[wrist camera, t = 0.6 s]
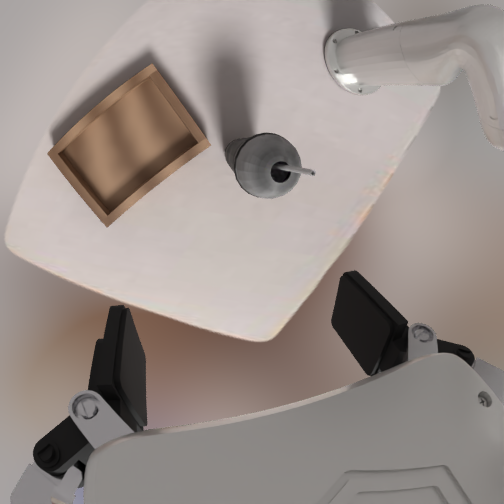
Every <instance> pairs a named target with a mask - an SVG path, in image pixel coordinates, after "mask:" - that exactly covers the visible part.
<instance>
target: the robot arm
mask: <svg viewBox="0 0 504 504" xmlns="http://www.w3.org/2000/svg"><path fill="white" fill-rule="evenodd" d="M325 61H326V65H327V68H328V70H329V72H330V74H331V76H332V77H333V79H334V80H335V81H336V82H337V83H338V84H339V85H340V86H341V87H342V88H343V89H345V90H346V91H348V92H350V93H353V94H356V95H368V94H372V93H374V92H376V91H377V90H378V89H379V88H380V87H381V86H382V85H425V86H442V85H447V84H449V83H451V82H452V81H454V80H455V79H456V78H457V76H458V75H459V74H460V73H461V72H462V70H463V71H464V72H465V74H466V76H467V79H468V82H469V84H470V87H471V90H472V93H473V97H474V101H475V104H476V108H477V112H478V116H479V119H480V124H481V127H482V130H483V133H484V135H485V137H486V139H487V140H488V141H489V142H490V144H492V145H493V146H494V147H496V148H498V149H499V150H501V151H504V10H502V9H501V8H499V7H496V6H493V5H474V6H469V7H466V8H462V9H459V10H455V11H452V12H448V13H444V14H440V15H435V16H430V17H425V18H420V19H414V20H410V21H405V22H400V23H395V24H391V25H386V26H382V27H378V28H375V29H371V30H367V31H364V32H362V31H359V30H357V29H352V28H346V29H341V30H339V31H336V32H335V33H333V34H332V35H331V36H330V37H329V39H328V41H327V43H326V46H325ZM331 323H332V326H333V328H334V329H335V330H336V332H337V333H338V335H339V336H340V337H341V339H342V340H343V342H344V343H345V345H346V346H347V347H348V349H349V350H350V351H351V353H352V354H353V356H354V357H355V359H356V360H357V361H358V363H359V364H360V366H361V367H362V369H363V370H364V371H365V373H366V374H367V375H370V376H371V377H368V378H366V379H363V380H361V381H358V382H356V383H353V384H350V385H347V386H345V387H342V388H339V389H336V390H333V391H330V392H327V393H324V394H321V395H318V396H315V397H312V398H308V399H305V400H302V401H298V402H295V403H291V404H287V405H284V406H280V407H276V408H272V409H268V410H264V411H260V412H255V413H251V414H246V415H241V416H236V417H231V418H226V419H220V420H214V421H208V422H202V423H196V424H188V425H181V426H172V427H165V428H158V429H149V430H145V431H143V426H147V410H146V409H147V408H146V359H145V353H144V350H143V348H142V345H141V342H140V340H139V337H138V333H137V331H136V328H135V325H134V322H133V319H132V315H131V312H130V309H129V308H125V307H124V305H118V306H111V307H110V309H109V314H108V319H107V324H106V328H105V334H104V338H103V339H98V340H97V342H96V345H95V351H94V356H93V361H92V367H91V373H90V379H89V386H88V390H86V391H81V392H79V393H77V394H76V395H74V396H73V398H72V399H71V400H70V402H69V406H68V410H69V414H70V416H68V417H67V418H66V419H65V420H64V421H62V422H61V423H60V424H59V425H57V426H56V427H55V428H54V429H53V430H51V431H50V432H49V433H48V434H47V435H45V436H44V437H43V438H42V439H40V440H39V441H38V442H37V443H36V445H35V447H34V450H33V457H34V460H35V461H34V463H33V464H32V465H31V464H29V465H28V466H27V468H26V470H25V472H24V473H23V475H22V476H21V478H20V480H19V482H18V483H17V485H16V487H15V489H14V490H13V492H12V494H11V498H10V499H11V504H72V503H73V500H74V499H75V497H76V496H75V495H74V493H75V491H76V489H77V488H80V487H83V486H84V491H83V493H84V495H83V497H84V504H504V371H502V370H501V369H499V368H497V367H495V366H493V365H491V364H489V363H487V362H485V361H483V360H481V359H479V358H476V360H475V358H474V355H473V353H472V352H471V350H470V349H468V348H467V347H465V346H463V345H459V344H454V343H450V342H446V341H442V340H439V339H437V337H436V333H435V332H434V330H433V329H432V328H431V327H429V326H428V325H426V324H422V323H415V324H412V325H411V326H410V327H408V326H407V323H408V321H407V320H406V319H405V318H404V317H403V316H402V315H401V314H400V313H399V312H398V311H397V310H396V309H395V308H394V307H393V306H392V305H391V304H390V303H389V302H388V301H387V300H386V299H385V298H384V297H383V296H382V295H381V294H380V293H379V292H378V291H377V290H376V289H375V288H374V287H373V286H372V285H371V284H370V283H369V282H368V281H367V280H366V279H365V278H364V277H363V276H362V275H361V274H359V273H358V272H357V271H350V272H345V273H344V274H343V276H341V278H340V282H339V287H338V292H337V296H336V301H335V306H334V310H333V315H332V319H331Z"/></svg>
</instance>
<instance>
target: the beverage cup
mask: <svg viewBox="0 0 504 504" xmlns="http://www.w3.org/2000/svg"><path fill="white" fill-rule="evenodd" d="M225 157H226V161H227V163H228V164H229V166H230V167H231V169H232V170H233V171H234V173H235V176H236V180H237V181H238V183H239V185H240V186H241V188H242V189H244V190H245V191H246V192H247V193H248V194H251V195H253V196H256V197H260V198H272V199H273V198H276V197H280V196H283V195H285V194H286V193H288V192H290V191H291V190H292V189H293V187H294V186H295V185H296V184H297V182H298V180H299V178H300V174H305V175H310V176H315V174H316V173H315V171H314V170H310V169H305V168H302V166H301V160H300V156H299V154H298V152H297V150H296V148H295V147H294V146H293V145H292V144H291V143H290V142H289V141H288V140H286V139H285V138H283V137H281V136H279V135H277V134H273V133H261V134H257V135H254V136H253V137H250V138H242V139H237V140H234V141H233V142H231V143H230V144H229V145H228V146H227V149H226V151H225Z"/></svg>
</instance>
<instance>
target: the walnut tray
mask: <svg viewBox="0 0 504 504" xmlns="http://www.w3.org/2000/svg"><path fill="white" fill-rule="evenodd" d="M209 146H211V144H210V143H209V141H208V140H207V138H206V137H205V136H204V134H203V133H202V131H201V130H200V129H199V127H198V126H197V124H196V123H195V121H194V120H193V119H192V117H191V116H190V114H189V113H188V112H187V110H186V109H185V107H184V106H183V105H182V103H181V102H180V101H179V99H178V98H177V96H176V95H175V94H174V92H173V91H172V89H171V88H170V87H169V85H168V84H167V83H166V81H165V80H164V79H163V77H162V76H161V74H160V73H159V72H158V70H157V69H156V68H155V66H154V65H153V64H151V65H149V66H148V67H146V68H145V69H143V70H142V71H140V72H139V73H137V74H136V75H135V76H133V77H132V78H130V79H129V80H128V81H126V82H125V83H124V84H122V85H121V86H120V87H119V88H117V89H116V90H115V91H113V92H112V93H111V94H110V95H108V96H107V97H106V98H105V99H104V100H102V101H101V102H100V103H99V104H98V105H96V106H95V107H94V108H93V109H92V110H91V111H90V112H88V113H87V114H86V115H85V116H84V117H83V118H82V119H81V120H80V121H79V122H78V123H77V124H76V125H74V126H73V127H72V128H71V129H70V130H69V131H68V132H67V133H66V134H65V135H64V136H63V137H62V138H61V139H60V140H59V141H58V143H57V144H56V145H55V146H54V147H53V148H52V149H51V150H50V151H49V152H48V153H47V154H48V155H49V157H50V158H51V159H52V161H53V162H54V163H55V165H56V166H57V167H58V169H59V170H60V171H61V173H62V174H63V175H64V176H65V178H66V179H67V180H68V182H69V183H70V184H71V185H72V187H73V188H74V189H75V190H76V192H77V193H78V194H79V195H80V196H81V198H82V199H83V200H84V201H85V202H86V204H87V205H88V206H89V207H90V208H91V210H92V211H93V212H94V213H95V214H96V215H97V217H98V218H99V219H100V220H101V221H102V222H103V223H104V225H105V226H106V227H108V226H110V225H111V224H112V223H113V222H114V221H115V220H116V219H117V218H118V217H120V216H121V215H122V214H123V213H124V212H125V211H126V210H128V209H129V208H130V207H131V206H132V205H134V204H135V203H136V202H137V201H138V200H139V199H141V198H142V197H143V196H144V195H146V194H147V193H148V192H149V191H150V190H152V189H153V188H154V187H155V186H157V185H158V184H159V183H160V182H162V181H163V180H164V179H166V178H167V177H168V176H169V175H171V174H172V173H173V172H175V171H176V170H177V169H179V168H180V167H181V166H183V165H184V164H185V163H187V162H188V161H190V160H191V159H192V158H194V157H195V156H196V155H198V154H199V153H201V152H202V151H204V150H205V149H206V148H208V147H209Z"/></svg>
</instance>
